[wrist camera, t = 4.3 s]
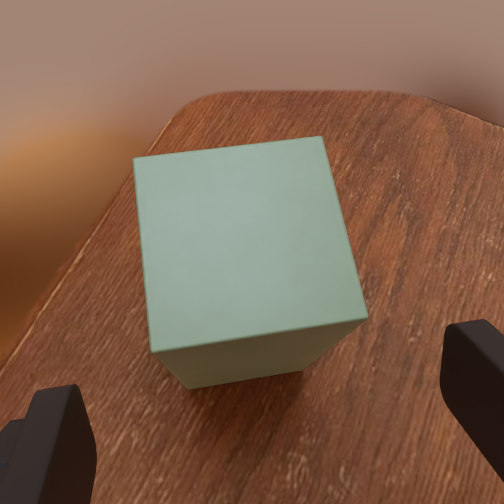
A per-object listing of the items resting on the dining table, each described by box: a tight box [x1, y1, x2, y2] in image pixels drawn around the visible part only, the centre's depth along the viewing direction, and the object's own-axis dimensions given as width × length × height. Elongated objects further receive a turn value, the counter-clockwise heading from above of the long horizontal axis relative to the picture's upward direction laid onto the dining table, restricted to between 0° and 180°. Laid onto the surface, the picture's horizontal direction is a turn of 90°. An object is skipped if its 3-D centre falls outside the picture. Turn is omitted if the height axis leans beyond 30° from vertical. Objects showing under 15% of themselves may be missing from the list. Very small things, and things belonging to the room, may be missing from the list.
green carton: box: [132, 136, 369, 390], centre depth 16 cm, size 5×5×10 cm
